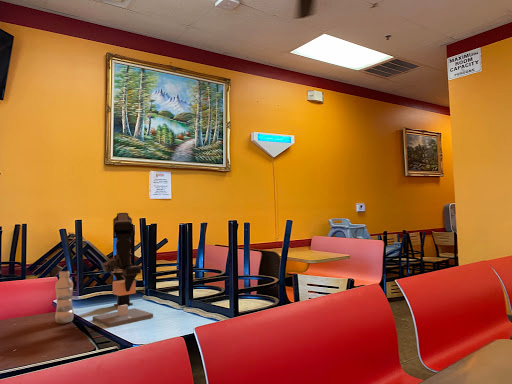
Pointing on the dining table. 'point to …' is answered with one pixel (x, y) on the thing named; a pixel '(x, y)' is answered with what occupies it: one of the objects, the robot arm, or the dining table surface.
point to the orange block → (123, 288)
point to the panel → (122, 316)
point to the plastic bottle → (64, 298)
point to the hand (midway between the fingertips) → (123, 290)
